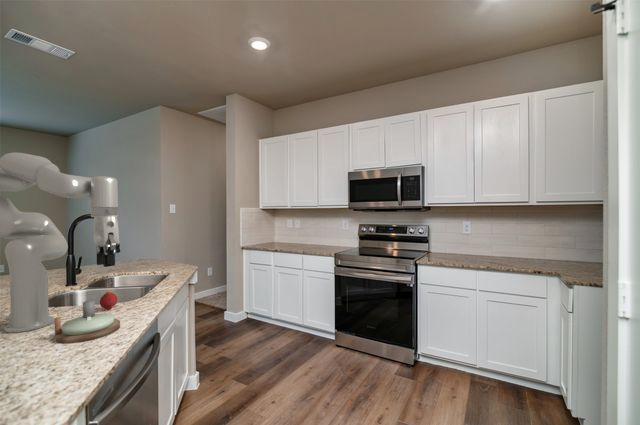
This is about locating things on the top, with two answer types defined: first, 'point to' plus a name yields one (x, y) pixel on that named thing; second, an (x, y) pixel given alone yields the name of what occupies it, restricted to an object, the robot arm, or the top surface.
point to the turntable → (87, 321)
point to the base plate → (83, 337)
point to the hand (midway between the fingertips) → (105, 264)
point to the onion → (108, 300)
